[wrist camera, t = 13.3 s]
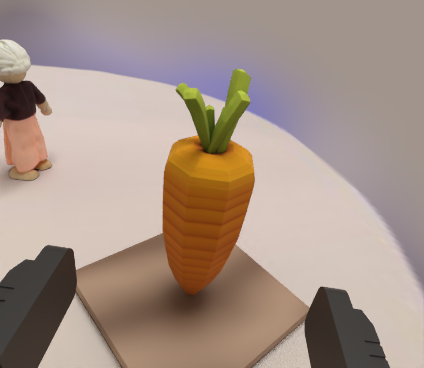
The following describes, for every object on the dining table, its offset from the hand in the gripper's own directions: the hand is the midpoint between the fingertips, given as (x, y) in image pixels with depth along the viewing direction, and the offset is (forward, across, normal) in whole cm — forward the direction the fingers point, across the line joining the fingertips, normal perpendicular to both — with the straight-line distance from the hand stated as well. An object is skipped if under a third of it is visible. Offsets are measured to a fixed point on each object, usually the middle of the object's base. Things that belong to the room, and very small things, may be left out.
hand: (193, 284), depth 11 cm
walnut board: (+8, 0, +11) cm, 14 cm away
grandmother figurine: (+21, +18, +11) cm, 30 cm away
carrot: (+8, 0, +10) cm, 13 cm away
